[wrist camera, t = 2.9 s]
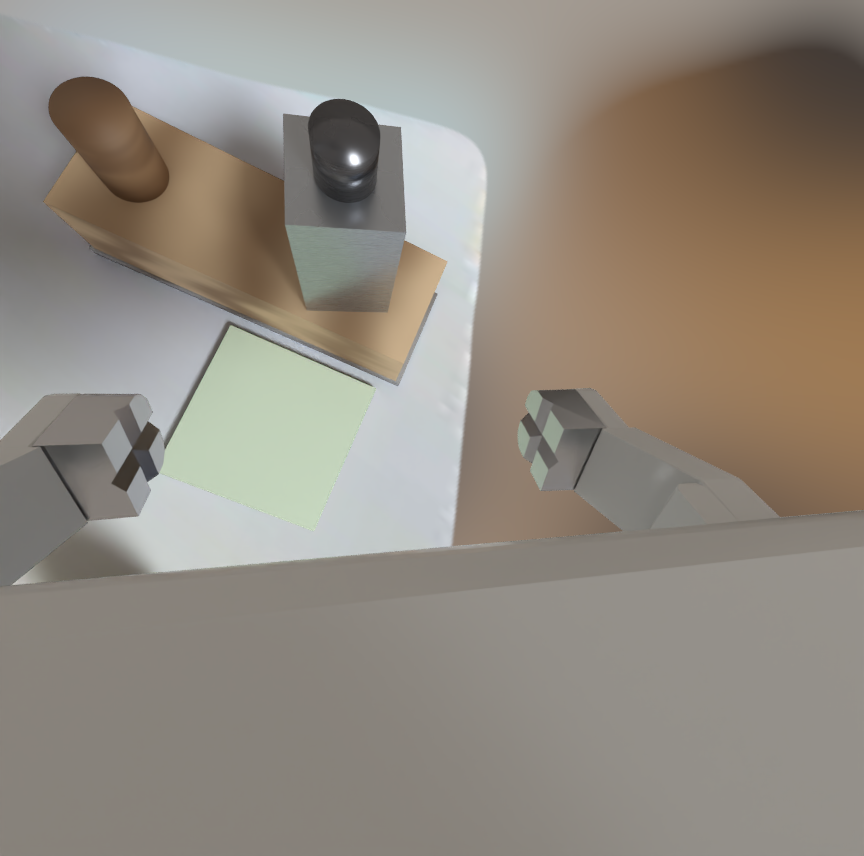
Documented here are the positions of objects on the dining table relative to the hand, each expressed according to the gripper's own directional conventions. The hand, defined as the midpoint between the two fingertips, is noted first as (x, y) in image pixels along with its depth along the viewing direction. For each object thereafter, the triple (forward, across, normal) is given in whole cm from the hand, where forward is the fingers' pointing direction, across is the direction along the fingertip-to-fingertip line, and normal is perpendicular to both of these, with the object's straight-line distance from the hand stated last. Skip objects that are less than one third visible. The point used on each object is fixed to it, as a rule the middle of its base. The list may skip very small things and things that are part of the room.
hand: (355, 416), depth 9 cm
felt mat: (+15, +5, +12) cm, 19 cm away
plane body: (+22, +4, +4) cm, 23 cm away
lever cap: (+17, 0, +2) cm, 17 cm away
